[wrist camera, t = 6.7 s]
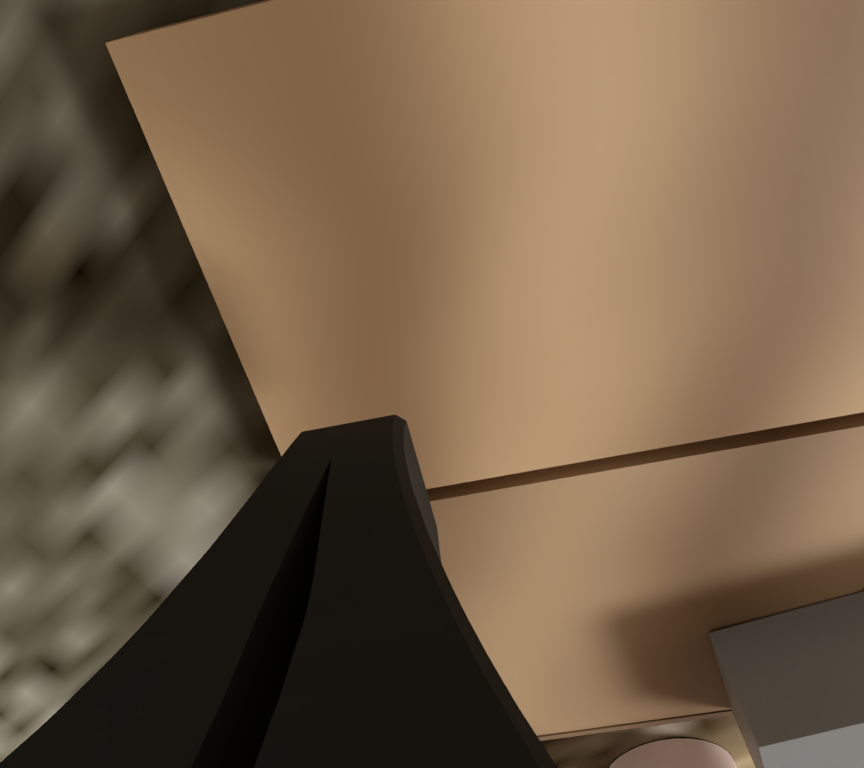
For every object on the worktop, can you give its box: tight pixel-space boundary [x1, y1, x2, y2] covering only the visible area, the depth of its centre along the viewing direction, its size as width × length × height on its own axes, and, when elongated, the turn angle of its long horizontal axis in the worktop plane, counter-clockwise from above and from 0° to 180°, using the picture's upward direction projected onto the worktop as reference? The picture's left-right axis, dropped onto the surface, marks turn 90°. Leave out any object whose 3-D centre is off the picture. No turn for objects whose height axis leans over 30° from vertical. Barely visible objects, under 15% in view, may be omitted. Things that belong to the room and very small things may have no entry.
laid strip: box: [426, 412, 864, 741], centre depth 15 cm, size 16×8×1 cm, turn 102°
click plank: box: [105, 0, 864, 489], centre depth 10 cm, size 16×8×1 cm, turn 102°
